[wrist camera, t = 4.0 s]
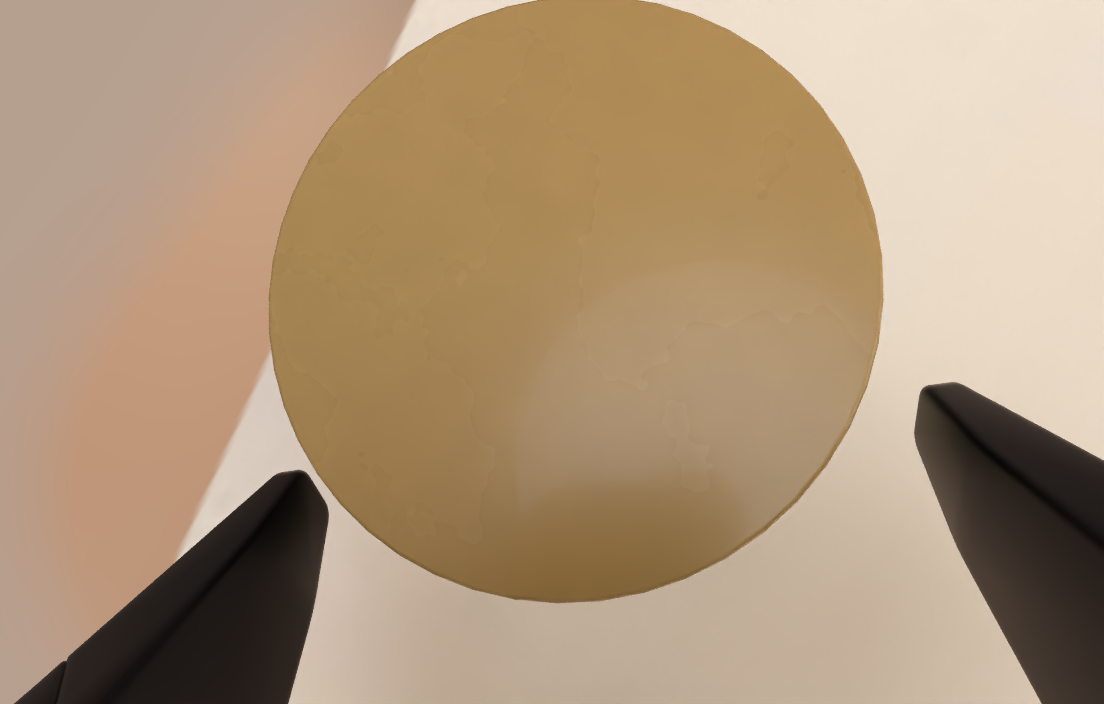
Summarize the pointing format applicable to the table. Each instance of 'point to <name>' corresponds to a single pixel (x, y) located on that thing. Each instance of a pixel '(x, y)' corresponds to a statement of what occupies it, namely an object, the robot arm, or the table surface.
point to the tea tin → (576, 299)
